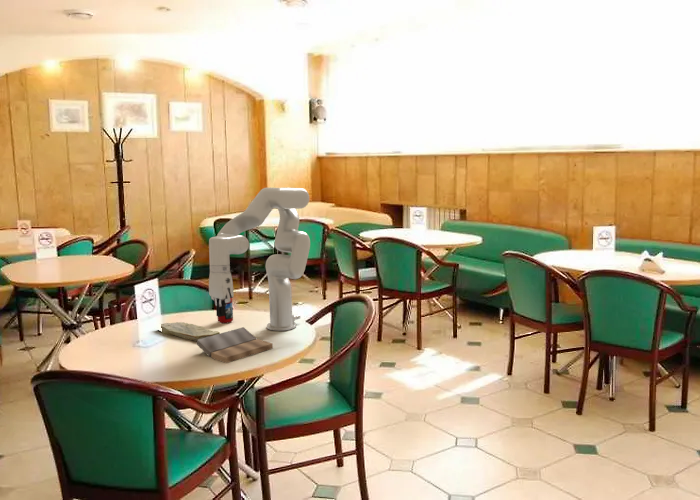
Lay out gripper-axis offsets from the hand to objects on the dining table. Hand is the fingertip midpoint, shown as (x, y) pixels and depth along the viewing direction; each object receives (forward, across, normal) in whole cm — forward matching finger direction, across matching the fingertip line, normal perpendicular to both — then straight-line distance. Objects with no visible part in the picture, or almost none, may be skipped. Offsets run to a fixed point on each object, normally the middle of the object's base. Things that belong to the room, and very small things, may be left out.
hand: (221, 315), depth 249 cm
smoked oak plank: (+11, -2, -1) cm, 11 cm away
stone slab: (+13, +28, -2) cm, 31 cm away
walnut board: (+13, -11, -1) cm, 17 cm away
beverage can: (+12, +30, -24) cm, 40 cm away
